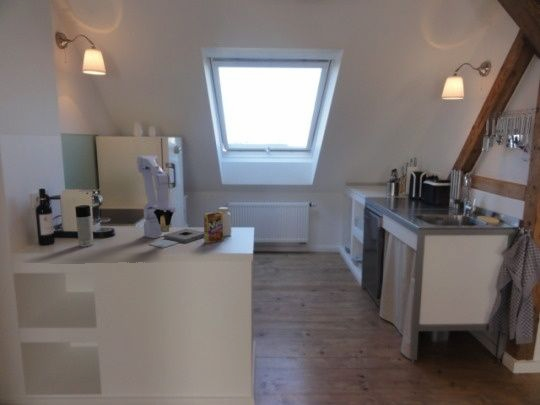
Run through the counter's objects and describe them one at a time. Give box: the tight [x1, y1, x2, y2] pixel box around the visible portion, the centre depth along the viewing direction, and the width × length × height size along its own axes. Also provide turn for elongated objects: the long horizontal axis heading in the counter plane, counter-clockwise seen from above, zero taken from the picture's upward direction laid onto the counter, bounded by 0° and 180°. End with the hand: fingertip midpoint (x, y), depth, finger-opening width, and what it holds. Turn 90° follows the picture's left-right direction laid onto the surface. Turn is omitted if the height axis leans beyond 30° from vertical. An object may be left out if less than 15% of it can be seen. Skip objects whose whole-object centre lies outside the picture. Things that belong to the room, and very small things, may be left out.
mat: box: [149, 239, 180, 249], centre depth 191 cm, size 10×10×1 cm
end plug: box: [160, 215, 171, 233], centre depth 190 cm, size 4×4×8 cm
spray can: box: [74, 204, 94, 248], centre depth 188 cm, size 7×7×20 cm
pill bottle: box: [218, 206, 232, 237], centre depth 207 cm, size 8×8×15 cm
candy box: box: [203, 210, 224, 244], centre depth 194 cm, size 9×4×15 cm, turn 123°
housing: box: [163, 228, 204, 244], centre depth 203 cm, size 16×16×2 cm
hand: (164, 224), depth 190 cm, fingers closed on end plug, 4 cm apart
